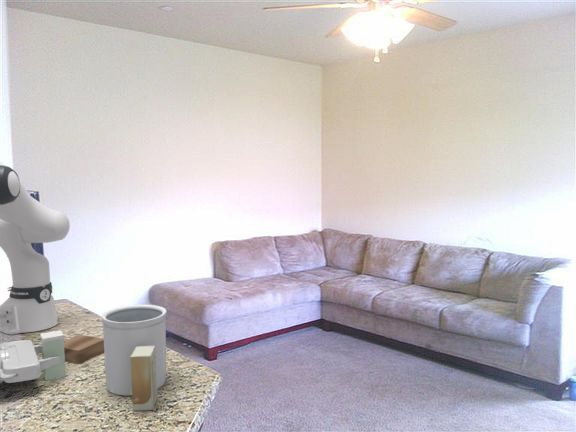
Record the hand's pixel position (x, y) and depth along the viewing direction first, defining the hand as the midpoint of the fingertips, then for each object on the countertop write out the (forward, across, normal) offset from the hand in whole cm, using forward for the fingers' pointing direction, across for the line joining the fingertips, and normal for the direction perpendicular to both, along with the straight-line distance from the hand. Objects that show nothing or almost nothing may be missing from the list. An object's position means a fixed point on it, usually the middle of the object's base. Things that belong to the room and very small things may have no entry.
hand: (56, 353), depth 127 cm
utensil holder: (+15, -17, +6) cm, 24 cm away
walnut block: (+7, +11, +6) cm, 15 cm away
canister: (-1, 0, +6) cm, 6 cm away
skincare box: (+14, -29, +6) cm, 32 cm away
